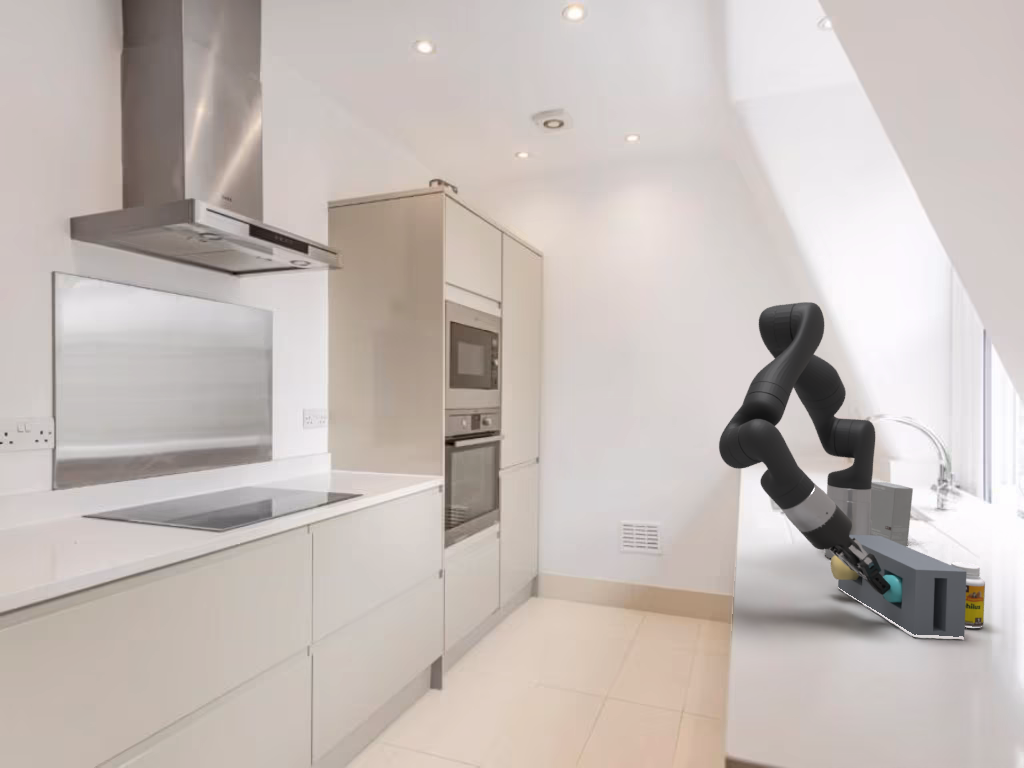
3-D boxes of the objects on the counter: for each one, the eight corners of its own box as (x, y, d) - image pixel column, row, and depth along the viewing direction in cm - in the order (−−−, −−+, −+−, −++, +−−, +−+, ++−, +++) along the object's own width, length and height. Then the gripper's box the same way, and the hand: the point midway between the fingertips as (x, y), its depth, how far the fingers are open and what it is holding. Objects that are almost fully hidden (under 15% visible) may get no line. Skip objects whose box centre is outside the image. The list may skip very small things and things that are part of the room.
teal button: (895, 605, 103) (896, 579, 103) (880, 597, 108) (881, 571, 108) (915, 606, 103) (915, 580, 103) (899, 597, 107) (899, 572, 107)
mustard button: (841, 582, 115) (842, 558, 115) (830, 575, 120) (831, 552, 120) (859, 583, 115) (860, 559, 115) (847, 576, 120) (847, 553, 120)
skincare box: (863, 539, 168) (865, 481, 168) (883, 538, 170) (885, 481, 170) (890, 547, 160) (892, 486, 160) (911, 546, 162) (913, 486, 162)
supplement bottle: (945, 625, 105) (947, 565, 105) (941, 615, 110) (943, 558, 110) (986, 633, 103) (988, 571, 103) (980, 622, 107) (982, 563, 108)
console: (913, 638, 99) (916, 569, 99) (837, 589, 123) (839, 534, 123) (964, 640, 99) (966, 571, 99) (878, 591, 123) (880, 535, 123)
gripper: (851, 507, 99) (926, 587, 99) (813, 493, 112) (878, 563, 112) (816, 539, 99) (891, 619, 99) (782, 521, 112) (848, 591, 112)
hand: (884, 589), depth 106 cm, fingers closed
